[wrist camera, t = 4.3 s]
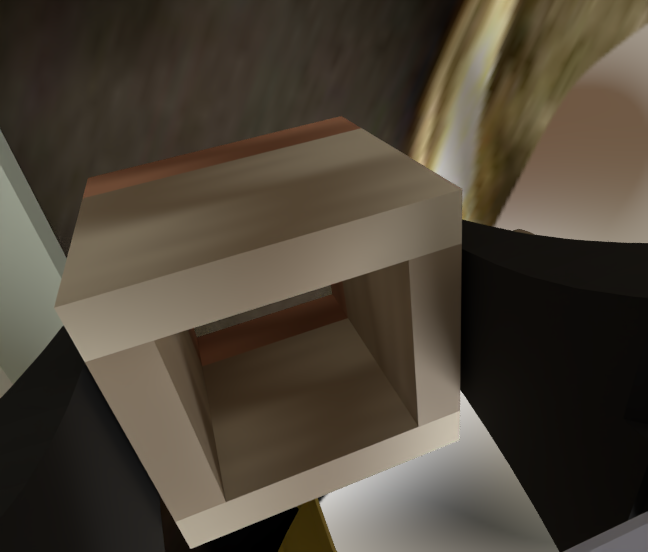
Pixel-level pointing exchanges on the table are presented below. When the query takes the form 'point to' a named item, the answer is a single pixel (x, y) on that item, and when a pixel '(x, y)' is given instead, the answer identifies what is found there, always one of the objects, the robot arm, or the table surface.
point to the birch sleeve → (270, 317)
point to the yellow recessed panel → (308, 531)
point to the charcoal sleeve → (4, 383)
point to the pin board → (25, 271)
